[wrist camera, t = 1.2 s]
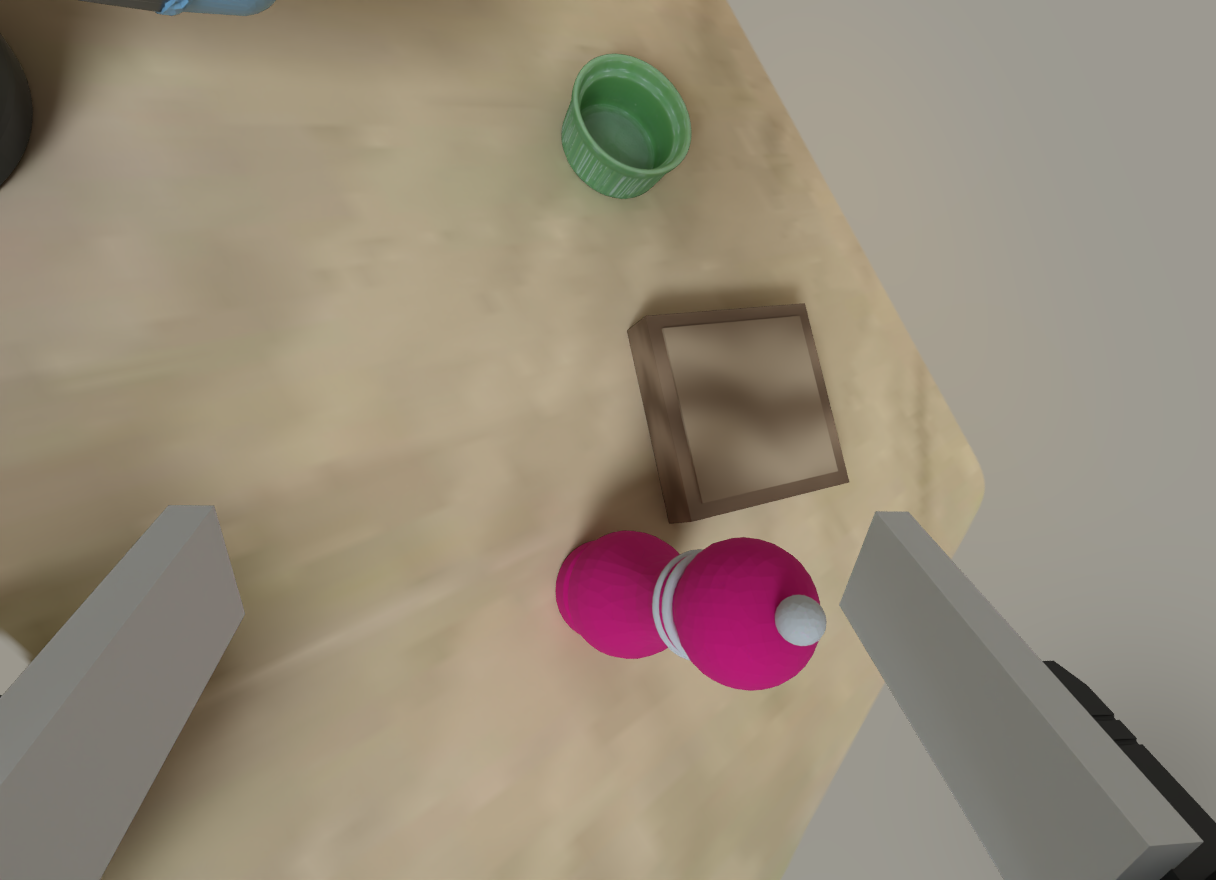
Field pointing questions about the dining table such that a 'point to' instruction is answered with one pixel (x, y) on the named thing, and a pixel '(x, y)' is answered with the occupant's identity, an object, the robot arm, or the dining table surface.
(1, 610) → the dining table surface
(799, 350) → the plinth
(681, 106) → the ramekin
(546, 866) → the dining table surface
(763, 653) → the pepper mill
